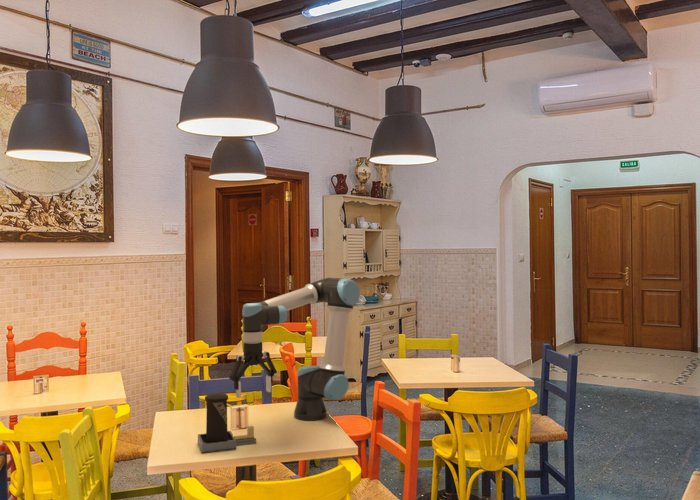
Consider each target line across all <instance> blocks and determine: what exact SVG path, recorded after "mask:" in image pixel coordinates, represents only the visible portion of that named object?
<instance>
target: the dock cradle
mask: <svg viewBox="0 0 700 500" xmlns="http://www.w3.org/2000/svg"><path fill="white" fill-rule="evenodd" d="M227 432H228V441H220V442H211V443H206V433H201V434H200V433H199V434H197V445H198V447H199V449H200V450H199V451H200V453H201V454H209V453H216V452H217V453H218V452H225V451H233V450H237V446H236V439H235V437H234V436H233V433H232V431H231V430H227Z"/></svg>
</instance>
